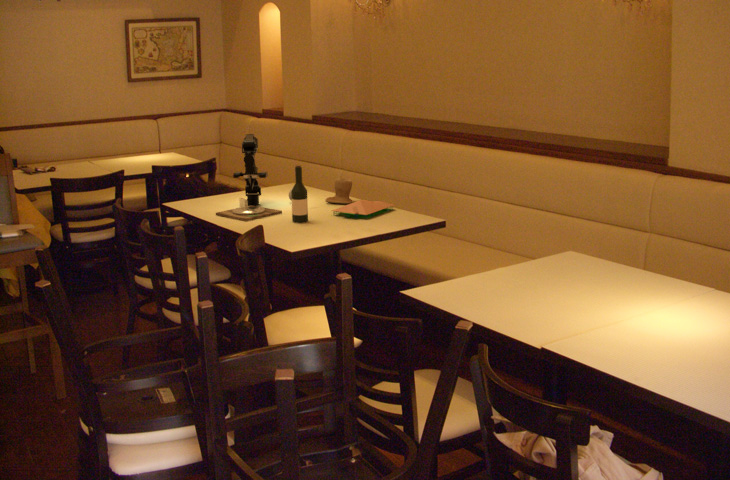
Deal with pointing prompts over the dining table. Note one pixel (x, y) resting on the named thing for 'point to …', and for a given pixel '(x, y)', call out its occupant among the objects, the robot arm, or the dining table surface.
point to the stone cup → (341, 192)
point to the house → (363, 208)
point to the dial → (247, 208)
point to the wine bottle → (299, 199)
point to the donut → (290, 194)
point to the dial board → (248, 217)
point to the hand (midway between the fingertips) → (251, 189)
